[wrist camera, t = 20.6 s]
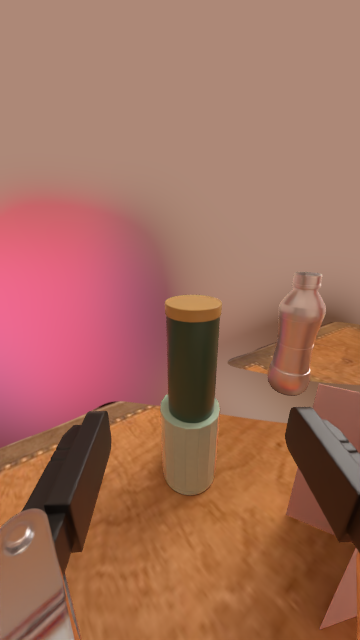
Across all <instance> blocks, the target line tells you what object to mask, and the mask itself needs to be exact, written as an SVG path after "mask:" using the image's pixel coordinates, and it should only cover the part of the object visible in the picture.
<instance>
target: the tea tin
mask: <svg viewBox="0 0 360 640" xmlns="http://www.w3.org/2000/svg"><path fill="white" fill-rule="evenodd" d="M221 309H222V302H221V301H220V300H219V299H216V298H214V297H210V296H204V295H181V296H176V297H171V298H169V299H167V300H166V301H165V314H166V316H167V317H166V318H167V357H168V358H167V360H168V404H169V411H170V413H171V414H172V415H173V416H174V417H175V418H176V419H178V420H180V421H182V422H186V423H198V422H202V421H205V420H206V419H208V418H209V417H210V416H211V415H212V413H213V411H214V400H215V384H216V368H217V353H218V337H219V321H220V315H221Z"/></svg>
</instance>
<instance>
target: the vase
mask: <svg viewBox="0 0 360 640" xmlns="http://www.w3.org/2000/svg"><path fill="white" fill-rule="evenodd" d="M160 413H161V439H162V464H163V474H164V478H165V480H166V482H167V483H168V485H169V486H170V487H171V488H172V489H173V490H175V491H176V492H178V493H180V494H183V495H196V494H200V493H202V492H204V491H205V490H206V489H208V487H209V486H210V485H211V484H212V482H213V480H214V477H215V470H216V459H217V446H218V433H219V420H220V406H219V402H218V401H217V400H216V398H215V400H214V411H213V413H212V415H211V416H210V417H209V418H208V419H206V420H205V421H202V422H198V423H186V422H182V421H180V420H178V419H176V418H175V417H174V416H173V415H172V414H171V413H170V411H169V404H168V394H167V395H166V396H165V397H164V399H163V400H162V402H161V409H160Z"/></svg>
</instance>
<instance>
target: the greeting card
mask: <svg viewBox="0 0 360 640" xmlns="http://www.w3.org/2000/svg"><path fill="white" fill-rule="evenodd" d="M313 409H314V410H315V411H316V413H317V414H318V415H319V416H320V418H321V419H322V420H327V421H329V422H330V423H331V424H333V425H334V426H335V427H337V428H338V429H339V430H340V431H341V432H342V433H343V434H344V435H345V437H346V438H347V439H348V440H349V443H352V445H353V446H354V447H355V448H356V449H357V451H358V453H360V392H355V391H351V390H346V389H341V388H336V387H332V386H327V385H322V384H319V385H318V389H317V393H316V397H315V401H314V405H313ZM286 515H288V516H290V517H293V518H295V519H297V520H300V521H302V522H304V523H307V524H309V525H312V526H314V527H316V528H319V529H321V530H323V531H326V532H328V533H331V534H333V535H335V534H334V532H333V530H332V528H331V526H330V525H329V523H328V521H327V519H326V517H325V515H324V514H323V512H322V510H321V508H320V506H319V504H318V503H317V501H316V499H315V497H314V495H313V493H312V492H311V490H310V488H309V486H308V484H307V483H306V481H305V479H304V477H303V475H302V473H301V472H300V470H299V468H298V469H297V473H296V477H295V481H294V485H293V489H292V493H291V497H290V501H289V505H288V509H287V513H286ZM352 543H353V542H352ZM357 552H358V550H357V548H355V550H354V552H353V555H352V557H351V559H350V561H349V563H348V566H347V568H346V570H345V572H344V575H343V577H342V579H341V581H340V583H339V586H338V588H337V590H336V592H335V595H334V597H333V599H332V601H331V603H330V606H329V608H328V610H327V612H326V615H325V617H324V619H323V621H322V623H321V626H320V628H319V630H320V629H323V628H326V627H328V626H331V625H334V624H337V623H339V622H342V621H345V620H348V619H350V618H353V617H356V616H357V579H356V555H357Z"/></svg>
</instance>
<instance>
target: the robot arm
mask: <svg viewBox="0 0 360 640" xmlns="http://www.w3.org/2000/svg"><path fill="white" fill-rule="evenodd" d="M285 439H286V444H287V447H288V449H289V451H290V453H291V455H292V457H293V459H294V461H295V462H296V464H297V466H298V468H299V470H300V472H301V473H302V475H303V477H304V479H305V481H306V483H307V484H308V486H309V488H310V490H311V492H312V493H313V495H314V497H315V499H316V501H317V503H318V504H319V506H320V508H321V510H322V512H323V514H324V515H325V517H326V519H327V521H328V523H329V525H330V526H331V528H332V530H333V532H334V534H335V536H336V537H337V539H338V541H339V542H353V543H354V545H355V547H356V548H357V550H358V552H357V555H356V579H357V636H356V640H360V453H358V451H357V449H356V448H355V447H354V446H353V445H352V443H349V440H348V439H347V438H346V437H345V435H344V434H343V433H342V432H341V431H340V430H339V429H338V428H337V427H335V426H334V425H333V424H331V423H330V422H329V421H327V420H322V419H321V418H320V416H319V415H318V414H317V413H316V411H315V410H314V409H313V408H311V407H293V408H291V410H290V414H289V419H288V423H287V428H286V433H285ZM110 450H111V432H110V425H109V418H108V413H107V411H90V412H88V413H87V414H86V416H85V418H84V421H83V423H82V425H74V426H73V427H72V428H71V429H69V430H68V431H67V432H66V433H65V434H64V435H63V437H62V439H61V441H60V442H59V444H58V446H57V448H56V451H55V452H54V454H53V455H52V457H51V461H49V463H48V465H47V466H46V468H45V470H44V472H43V474H42V476H41V478H40V479H39V481H38V483H37V485H36V487H35V489H34V490H33V492H32V494H31V496H30V498H29V500H28V502H27V503H26V505H25V507H24V508H23V510H22V511H21V512H20V513H18V514H16V515H15V516H13V517H12V518H10V519H9V520H8V521H7V522H6V523H5V524H4V525H3V526H2V527H1V528H0V640H82V639H81V635H80V631H79V627H78V622H77V618H76V614H75V610H74V606H73V602H72V598H71V594H70V590H69V586H68V582H67V578H66V574H65V570H66V567H67V564H68V560H69V557H70V554H71V553H73V552H82V550H83V546H84V543H85V539H86V536H87V532H88V529H89V525H90V522H91V518H92V515H93V511H94V508H95V504H96V500H97V497H98V493H99V490H100V486H101V483H102V479H103V476H104V472H105V469H106V465H107V462H108V458H109V455H110Z"/></svg>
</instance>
